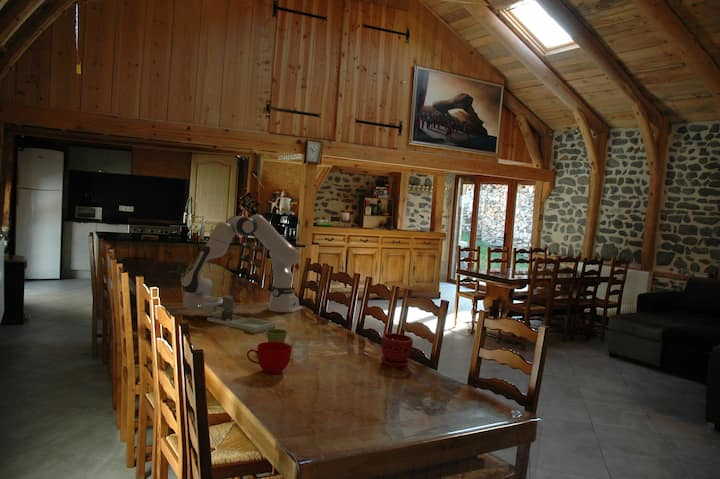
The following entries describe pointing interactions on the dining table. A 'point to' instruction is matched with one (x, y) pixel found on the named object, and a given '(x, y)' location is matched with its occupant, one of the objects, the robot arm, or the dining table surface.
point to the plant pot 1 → (276, 335)
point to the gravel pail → (227, 308)
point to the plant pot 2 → (396, 349)
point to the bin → (253, 325)
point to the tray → (219, 320)
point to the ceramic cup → (272, 356)
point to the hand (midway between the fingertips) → (228, 308)
